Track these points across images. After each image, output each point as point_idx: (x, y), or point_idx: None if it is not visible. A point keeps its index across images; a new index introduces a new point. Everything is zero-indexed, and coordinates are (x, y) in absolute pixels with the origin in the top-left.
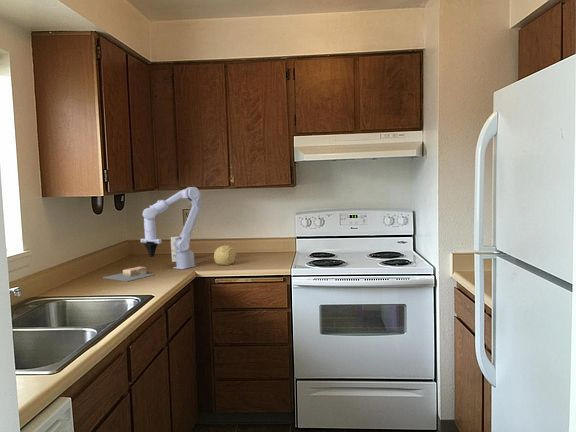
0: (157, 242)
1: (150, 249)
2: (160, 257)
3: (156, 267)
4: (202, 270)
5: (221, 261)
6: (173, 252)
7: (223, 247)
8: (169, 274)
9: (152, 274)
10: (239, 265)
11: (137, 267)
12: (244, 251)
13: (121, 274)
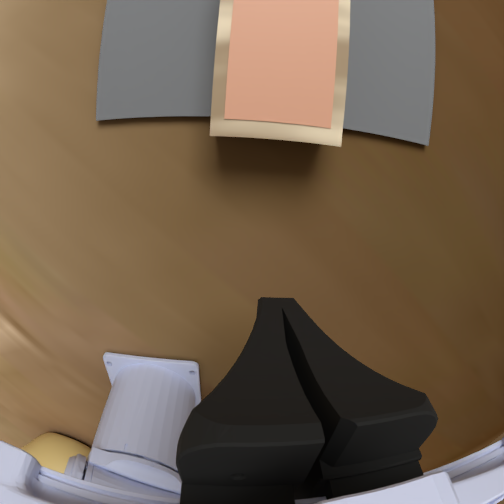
0: (17, 468)
1: (242, 360)
2: (449, 442)
3: (348, 346)
4: (11, 349)
5: (41, 438)
6: None
7: None
8: (35, 202)
9: (113, 115)
10: (21, 429)
11: (310, 94)
12: None
13: (397, 30)
